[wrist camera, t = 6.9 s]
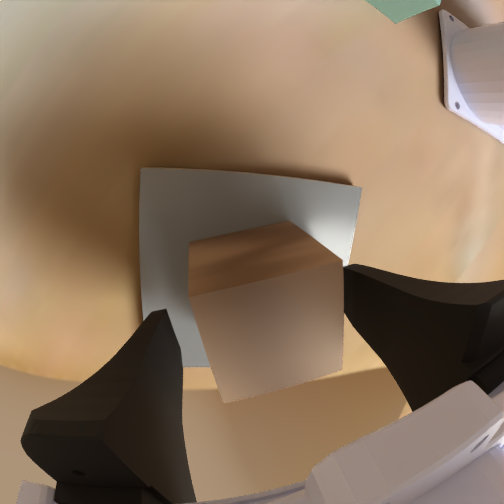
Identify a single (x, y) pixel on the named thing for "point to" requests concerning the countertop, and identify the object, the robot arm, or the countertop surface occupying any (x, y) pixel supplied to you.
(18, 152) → the countertop surface
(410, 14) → the teal block
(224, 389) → the walnut block
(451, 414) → the robot arm
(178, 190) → the slate pad
